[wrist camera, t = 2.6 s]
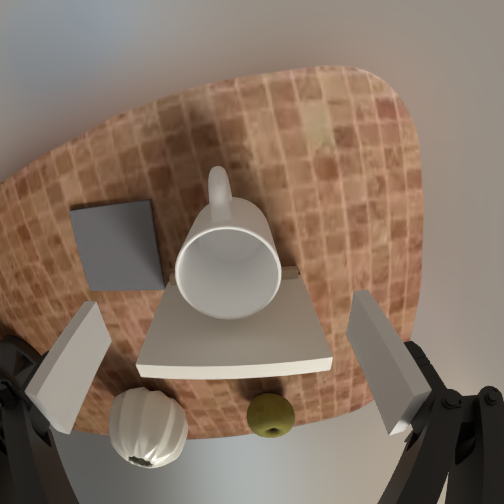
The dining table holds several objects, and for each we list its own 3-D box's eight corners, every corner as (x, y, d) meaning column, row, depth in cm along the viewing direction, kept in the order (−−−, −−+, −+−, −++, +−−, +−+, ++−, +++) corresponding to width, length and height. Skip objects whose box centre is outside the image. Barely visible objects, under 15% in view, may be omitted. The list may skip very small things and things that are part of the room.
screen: (172, 300, 34) (145, 385, 21) (166, 272, 32) (131, 354, 20) (299, 293, 34) (328, 378, 22) (301, 265, 33) (334, 346, 20)
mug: (182, 166, 28) (154, 183, 18) (261, 156, 28) (273, 167, 18) (200, 268, 32) (187, 323, 23) (271, 261, 32) (284, 314, 23)
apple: (272, 414, 45) (275, 445, 39) (236, 401, 43) (237, 434, 37) (300, 394, 43) (307, 427, 36) (264, 379, 41) (268, 415, 34)
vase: (203, 400, 43) (197, 466, 31) (170, 427, 47) (162, 481, 35) (130, 365, 39) (108, 432, 27) (109, 398, 43) (91, 453, 31)
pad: (92, 288, 33) (90, 290, 32) (71, 210, 28) (69, 211, 28) (165, 287, 33) (164, 289, 33) (150, 199, 29) (148, 200, 28)
